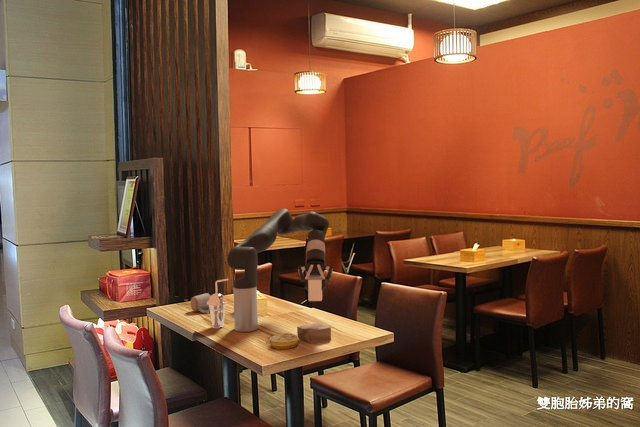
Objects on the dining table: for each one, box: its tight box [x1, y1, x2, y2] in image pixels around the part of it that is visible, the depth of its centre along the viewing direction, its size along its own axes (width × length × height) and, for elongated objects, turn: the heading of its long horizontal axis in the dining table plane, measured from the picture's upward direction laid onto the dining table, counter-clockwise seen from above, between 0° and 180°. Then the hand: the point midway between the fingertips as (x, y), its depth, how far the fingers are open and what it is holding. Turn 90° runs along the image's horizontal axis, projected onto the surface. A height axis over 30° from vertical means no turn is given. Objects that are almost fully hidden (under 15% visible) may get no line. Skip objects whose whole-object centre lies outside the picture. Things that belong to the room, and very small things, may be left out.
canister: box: [307, 275, 323, 302], centre depth 219 cm, size 5×5×9 cm
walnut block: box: [296, 322, 332, 344], centre depth 215 cm, size 9×9×4 cm
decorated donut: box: [268, 332, 300, 350], centre depth 208 cm, size 10×11×4 cm
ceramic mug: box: [190, 292, 211, 314], centre depth 265 cm, size 11×8×8 cm
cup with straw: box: [207, 278, 230, 329], centre depth 236 cm, size 8×9×20 cm
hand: (314, 289), depth 217 cm, fingers closed on canister, 5 cm apart
